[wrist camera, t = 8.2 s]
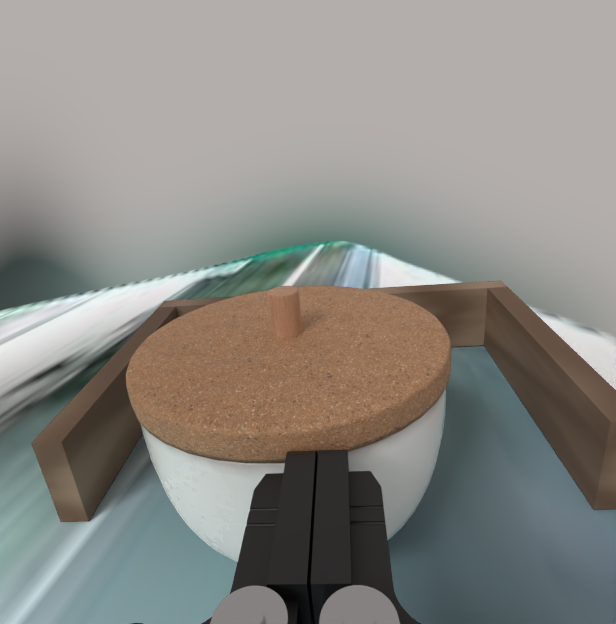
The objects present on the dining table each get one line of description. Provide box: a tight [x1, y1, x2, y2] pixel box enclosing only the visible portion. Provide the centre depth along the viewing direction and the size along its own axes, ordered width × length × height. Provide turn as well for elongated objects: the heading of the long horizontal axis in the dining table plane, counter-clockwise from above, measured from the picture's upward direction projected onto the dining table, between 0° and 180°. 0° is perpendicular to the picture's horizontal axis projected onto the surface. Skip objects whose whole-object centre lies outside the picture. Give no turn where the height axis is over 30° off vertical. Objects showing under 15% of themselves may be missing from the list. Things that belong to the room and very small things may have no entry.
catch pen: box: [32, 281, 616, 522], centre depth 25 cm, size 22×15×4 cm
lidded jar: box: [126, 286, 451, 563], centre depth 17 cm, size 11×11×9 cm
